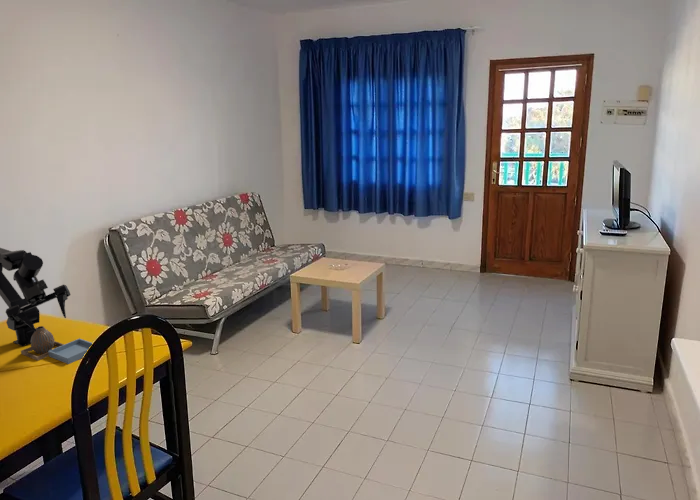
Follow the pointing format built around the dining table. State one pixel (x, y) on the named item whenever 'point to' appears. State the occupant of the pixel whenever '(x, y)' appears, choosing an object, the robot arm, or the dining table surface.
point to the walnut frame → (25, 352)
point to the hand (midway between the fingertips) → (50, 324)
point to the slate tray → (70, 351)
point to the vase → (42, 340)
